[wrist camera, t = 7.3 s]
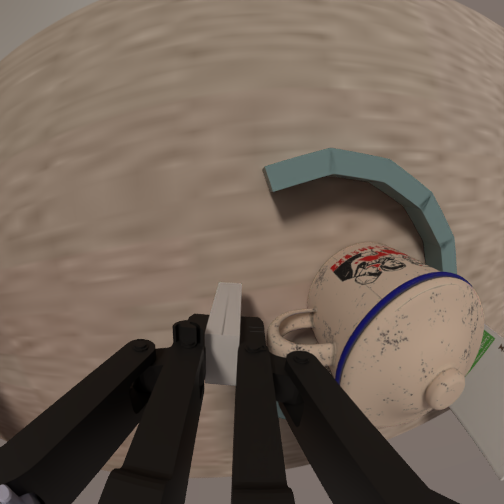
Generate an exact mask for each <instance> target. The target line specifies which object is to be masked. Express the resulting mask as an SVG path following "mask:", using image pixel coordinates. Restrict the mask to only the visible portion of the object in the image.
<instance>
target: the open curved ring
mask: <svg viewBox="0 0 504 504" xmlns="http://www.w3.org/2000/svg"><path fill="white" fill-rule="evenodd" d="M262 170H263V173H264V176H265V179H266V182H267V185H268V188H269V191H270V192H274V191H278V190H281V189H284V188H287V187H290V186H294V185H297V184H300V183H304V182H307V181H310V180H314V179H317V178H321V177H324V176H331V177H338V178H345V179H352V180H358V181H364V182H369V183H370V184H372V185H373V186H375V187H376V188H378V189H379V190H381V191H382V192H384V193H385V194H387V195H388V196H390V197H391V198H392V199H394V200H395V201H397V202H398V203H399V204H401V205H402V206H403V207H404V208H405V210H406V212H407V213H408V215H409V217H410V219H411V220H412V222H413V224H414V226H415V227H416V229H417V231H418V233H419V235H420V236H421V238H422V240H423V245H424V252H425V261H426V265H428V266H430V267H432V268H434V269H436V270H438V271H440V272H451V273H454V274H457V267H456V251H455V240H454V236H453V234H452V231H451V229H450V227H449V225H448V223H447V221H446V219H445V217H444V214H443V212H442V210H441V208H440V206H439V205H438V203H437V201H436V199H435V197H434V195H433V193H432V192H431V191H430V190H429V189H427V188H426V187H425V186H424V185H423V184H421V183H420V182H419V181H418V180H416V179H415V178H414V177H413V176H411V175H410V174H409V173H408V172H406V171H405V170H404V169H402V168H401V167H400V166H398V165H397V164H396V163H394V162H393V161H392V160H390V159H387V158H382V157H377V156H373V155H368V154H363V153H358V152H352V151H346V150H341V149H335V148H328V149H324V150H320V151H316V152H313V153H309V154H305V155H302V156H298V157H295V158H291V159H288V160H284V161H281V162H278V163H274V164H271V165H268V166H265V167H264V168H263V169H262ZM276 404H277V412H278V417H279V418H282V419H286V418H285V417H284V415H283V413H282V411H281V409H280V407H279V404H278V401H276Z"/></svg>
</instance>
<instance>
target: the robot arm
mask: <svg viewBox="0 0 504 504" xmlns="http://www.w3.org/2000/svg"><path fill="white" fill-rule="evenodd" d="M241 293H242V283H228V282H219V284H218V287H217V291H216V295H215V298H214V302H213V305H212V309H211V312H210V315H204V314H193V315H192V316H190V317H189V319H188V320H184V321H179V322H177V323H175V324H174V325H173V345H172V347H169V348H159V349H155V344H154V343H153V342H151V341H149V340H145V339H137V340H133V341H131V342H129V343H127V344H126V345H125V346H124V347H122V348H121V349H120V350H119V351H117V352H116V353H115V354H114V355H113V356H111V357H110V358H109V359H108V360H106V361H105V362H104V363H103V364H101V365H100V366H99V367H98V368H97V369H95V370H94V371H93V372H92V373H90V374H89V375H88V376H87V377H85V378H84V379H83V380H82V381H81V382H79V383H78V384H77V385H76V386H74V387H73V388H72V389H71V390H70V391H68V392H67V393H66V394H65V395H64V396H62V397H61V398H60V399H59V400H57V401H56V402H55V403H54V404H53V405H51V406H50V407H49V408H48V409H47V410H45V411H44V412H43V413H42V414H40V415H39V416H38V417H37V418H36V419H34V420H33V421H32V422H31V423H30V424H28V425H27V426H26V427H25V428H24V429H22V430H21V431H20V432H19V433H18V434H16V435H15V436H14V437H13V438H12V439H10V440H9V441H8V442H7V443H6V444H4V445H3V446H2V447H0V504H71V503H72V502H73V501H74V500H75V499H76V497H78V495H79V494H80V493H81V492H82V491H83V490H84V488H85V487H86V486H87V485H88V484H89V482H90V481H91V480H92V479H93V478H94V477H95V475H96V474H97V473H98V472H99V471H100V469H101V468H102V467H103V466H104V465H105V463H106V462H107V461H108V460H109V459H110V457H111V456H112V455H113V454H114V453H115V451H116V450H117V449H118V448H119V446H120V445H121V444H122V443H123V442H124V440H125V439H126V438H127V437H128V435H129V434H130V433H131V432H132V431H133V429H134V428H135V427H136V426H137V424H138V423H139V425H138V427H137V430H136V432H135V435H134V437H133V440H132V443H131V445H130V448H129V450H128V453H127V455H126V458H125V461H124V463H123V465H122V467H121V468H120V469H114V470H112V471H111V473H110V475H109V477H108V479H107V481H106V484H105V487H104V489H103V492H102V494H101V497H100V500H99V502H98V504H184V503H185V496H186V491H187V485H188V479H189V473H190V467H191V461H192V455H193V450H194V444H195V438H196V433H197V427H198V422H199V416H200V411H201V405H202V400H203V395H204V380H205V383H208V384H220V385H233V386H236V392H235V414H234V438H233V463H232V492H231V504H295V501H294V495H293V492H292V489H291V488H289V487H288V486H287V481H286V473H285V465H284V458H283V450H282V442H281V435H280V427H279V419H278V412H277V404H276V401H278V404H279V407H280V409H281V411H282V413H283V415H284V417H285V418H286V420H287V422H288V424H289V426H290V428H291V430H292V432H293V434H294V435H295V437H296V439H297V441H298V443H299V445H300V446H301V448H302V450H303V452H304V454H305V456H306V457H307V459H308V461H309V463H310V465H311V466H312V468H313V470H314V471H315V473H316V475H317V477H318V478H319V480H320V482H321V484H322V486H323V487H324V489H325V491H326V492H327V494H328V496H329V498H330V499H331V501H332V503H333V504H460V503H457V502H455V501H453V500H451V499H449V498H447V497H445V496H443V495H441V494H439V493H437V492H435V491H433V490H431V489H429V488H428V487H427V486H426V485H425V483H424V482H423V481H422V480H421V479H420V478H419V477H418V476H417V474H416V473H415V472H414V471H413V470H412V469H411V468H410V466H409V465H408V464H407V463H406V462H405V461H404V460H403V459H402V457H401V456H400V455H399V454H398V453H397V452H396V451H395V449H394V448H393V447H392V446H391V445H390V444H389V443H388V441H387V440H386V439H385V438H384V437H383V436H382V434H381V433H380V432H379V431H378V430H377V429H376V427H375V426H374V425H373V424H372V423H371V422H370V420H369V419H368V418H367V417H366V416H365V415H364V413H363V412H362V411H361V410H360V409H359V407H358V406H357V405H356V404H355V403H354V402H353V400H352V399H351V398H350V397H349V396H348V394H347V393H346V392H345V391H344V390H343V389H342V387H341V386H340V385H339V384H338V383H337V381H336V380H335V379H334V378H333V377H332V375H331V374H330V373H329V372H328V371H327V369H326V368H325V367H324V366H323V365H322V363H321V362H320V361H319V360H318V359H317V357H316V356H314V355H313V354H312V353H309V352H307V351H292V352H290V353H289V354H287V356H286V358H285V357H280V356H276V355H274V354H272V353H271V352H269V348H268V346H266V341H265V333H264V325H263V321H262V320H261V319H260V318H257V317H240V316H241Z"/></svg>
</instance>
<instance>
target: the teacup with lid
mask: <svg viewBox="0 0 504 504" xmlns="http://www.w3.org/2000/svg"><path fill="white" fill-rule="evenodd" d="M303 328H312V329H313V332H314V334H315V336H316V338H317V341H318V343H319V344H298V343H294V342H291V341H288V340H286V339H284V338H283V336H284V335H285V334H287V333H288V332H290V331H293V330H297V329H303ZM483 332H484V312H483V307H482V304H481V301H480V298H479V296H478V294H477V293H476V291H475V290H474V288H473V287H472V286H471V284H470V283H469V282H468V281H467V280H465V279H464V278H463V277H461V276H459V275H457V274H454V273H451V272H440V271H438V270H436V269H434V268H432V267H430V266H428V265H426V264H424V263H422V262H420V261H418V260H416V259H414V258H412V257H410V256H408V255H406V254H403V253H401V252H399V251H397V250H395V249H393V248H391V247H388V246H386V245H383V244H380V243H373V242H366V243H358V244H355V245H352V246H349V247H347V248H345V249H343V250H341V251H339V252H338V253H336V254H335V255H334V256H332V257H331V258H330V259H329V260H328V261H327V262H326V263H325V264H324V265H323V266H322V268H321V269H320V270H319V272H318V273H317V275H316V277H315V279H314V280H313V283H312V285H311V288H310V291H309V295H308V301H307V309H301V310H295V311H290V312H287V313H285V314H282V315H280V316H279V317H277V318H276V319H275V320H274V321H273V322H272V323H271V324H270V326H269V328H268V331H267V346H268V348H269V352H271V353H272V354H274V355H276V356H280V357H285V358H286V356H287V354H289V353H290V352H292V351H307V352H309V353H312V354H313V355H314V356H316V357H317V359H318V360H319V361H320V362H321V363H322V365H323V366H329V368H330V370H331V372H332V375H333V377H334V379H335V380H336V381H337V383H338V384H339V385H340V386H341V387H342V389H343V390H344V391H345V392H346V393H347V394H348V396H349V397H350V398H351V399H352V400H353V402H354V403H355V404H356V405H357V406H358V407H359V409H360V410H361V411H362V412H363V413H364V415H365V416H366V417H367V418H368V419H369V420H370V422H371V423H372V424H373V425H374V426H375V427H392V426H397V425H401V424H404V423H407V422H410V421H413V420H415V419H417V418H419V417H421V416H423V415H425V414H426V413H428V412H429V411H431V410H432V409H434V410H442V409H445V408H447V407H449V406H450V405H451V404H453V403H454V402H455V401H456V400H457V399H458V398H459V396H460V395H461V393H462V392H463V390H464V387H465V376H466V375H467V373H468V372H469V370H470V368H471V366H472V365H473V363H474V361H475V358H476V356H477V354H478V351H479V348H480V345H481V342H482V337H483Z"/></svg>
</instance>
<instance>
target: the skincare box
mask: <svg viewBox="0 0 504 504" xmlns="http://www.w3.org/2000/svg"><path fill="white" fill-rule="evenodd" d="M449 408H450V409H451V411H452V412H453V413H454V415H455V416H456V417H457V419H458V420H459V421H460V423H461V424H462V425H463V427H464V428H465V429H466V431H467V432H468V434H469V435H470V437H471V438H472V439H473V441H474V442H475V444H476V445H477V446H478V448H479V449H480V451H481V452H482V454H483V455H484V457H485V458H486V460H487V461H488V463H489V464H490V466H491V467H492V469H493V470H494V472H495V474H496V475H497V477H498V478H499V480H500V481H502V480H504V338H503V337H502V336H500V335H499V334H498V333H497V332H495V331H494V330H493V329H491V328H490V327H489V326H487V325H486V324H485V323H484V332H483V337H482V342H481V345H480V348H479V351H478V354H477V356H476V358H475V361H474V363H473V365H472V366H471V368H470V370H469V372H468V373H467V375H466V376H465V387H464V390H463V392H462V393H461V395H460V396H459V398H458V399H457V400H456V401H455V402H454V403H453V404H451V405H450V406H449Z"/></svg>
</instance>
